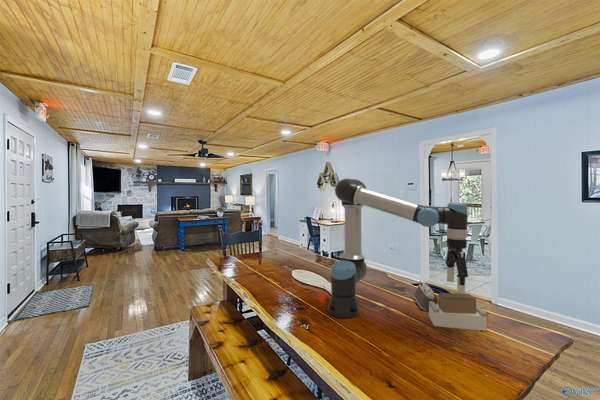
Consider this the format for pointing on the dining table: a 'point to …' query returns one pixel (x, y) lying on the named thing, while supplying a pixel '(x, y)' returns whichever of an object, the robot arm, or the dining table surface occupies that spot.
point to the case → (456, 303)
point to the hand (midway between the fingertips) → (455, 286)
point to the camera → (424, 296)
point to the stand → (458, 318)
